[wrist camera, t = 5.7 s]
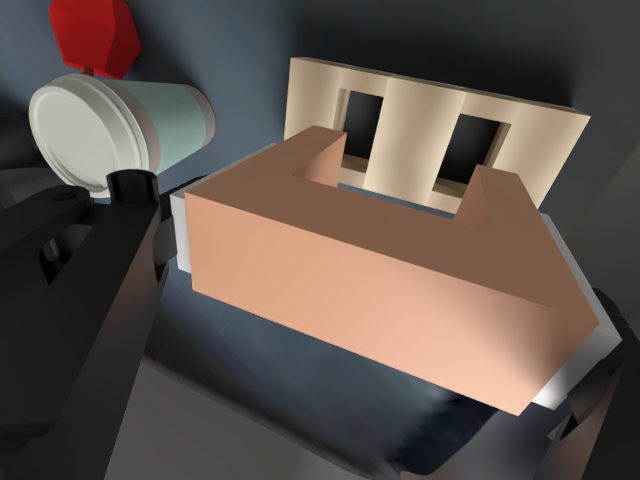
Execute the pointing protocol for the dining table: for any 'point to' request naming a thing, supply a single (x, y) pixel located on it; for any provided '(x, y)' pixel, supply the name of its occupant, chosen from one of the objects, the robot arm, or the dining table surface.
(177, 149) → the coffee cup
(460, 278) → the clip
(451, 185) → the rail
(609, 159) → the dining table surface
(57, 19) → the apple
